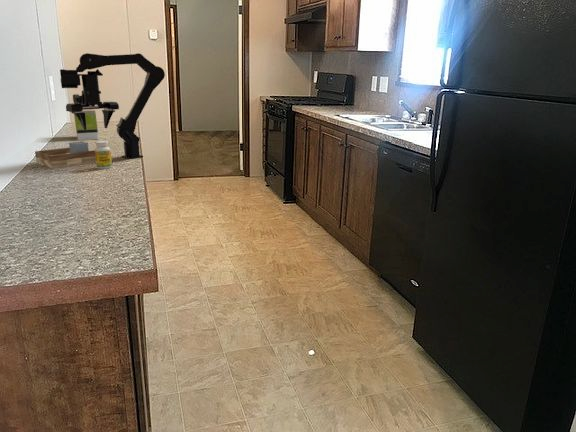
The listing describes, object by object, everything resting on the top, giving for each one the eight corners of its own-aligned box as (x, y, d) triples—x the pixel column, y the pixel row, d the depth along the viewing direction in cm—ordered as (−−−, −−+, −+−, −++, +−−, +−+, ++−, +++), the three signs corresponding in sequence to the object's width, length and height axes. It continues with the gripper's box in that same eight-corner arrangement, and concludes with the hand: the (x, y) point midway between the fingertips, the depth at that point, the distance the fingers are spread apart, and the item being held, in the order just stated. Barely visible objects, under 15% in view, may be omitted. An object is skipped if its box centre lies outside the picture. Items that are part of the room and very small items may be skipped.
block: (89, 155, 182) (87, 142, 181) (76, 157, 178) (74, 144, 177) (83, 154, 185) (81, 141, 184) (70, 155, 182) (68, 142, 180)
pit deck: (104, 161, 185) (103, 149, 184) (52, 168, 171) (50, 156, 170) (87, 156, 194) (86, 145, 193) (36, 163, 180) (34, 151, 178)
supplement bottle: (110, 165, 177) (107, 140, 174) (113, 168, 173) (111, 142, 170) (95, 167, 174) (92, 141, 172) (98, 169, 170) (95, 143, 167)
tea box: (76, 136, 246) (72, 107, 242) (97, 135, 250) (93, 107, 246) (77, 140, 233) (73, 110, 229) (99, 139, 237) (95, 109, 233)
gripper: (104, 86, 192) (108, 125, 196) (57, 87, 179) (62, 129, 183) (117, 87, 184) (121, 127, 189) (69, 89, 171) (75, 132, 176)
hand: (95, 129), depth 185 cm, fingers open, 8 cm apart
